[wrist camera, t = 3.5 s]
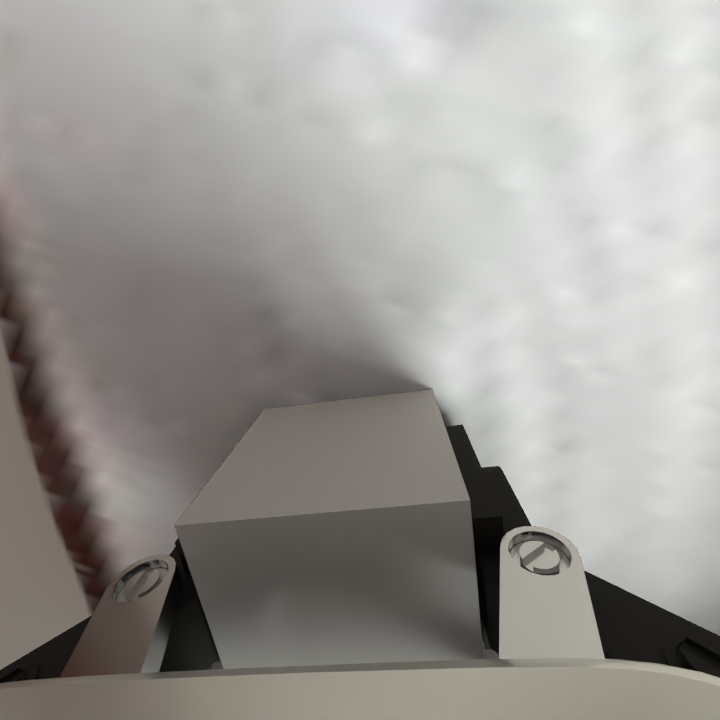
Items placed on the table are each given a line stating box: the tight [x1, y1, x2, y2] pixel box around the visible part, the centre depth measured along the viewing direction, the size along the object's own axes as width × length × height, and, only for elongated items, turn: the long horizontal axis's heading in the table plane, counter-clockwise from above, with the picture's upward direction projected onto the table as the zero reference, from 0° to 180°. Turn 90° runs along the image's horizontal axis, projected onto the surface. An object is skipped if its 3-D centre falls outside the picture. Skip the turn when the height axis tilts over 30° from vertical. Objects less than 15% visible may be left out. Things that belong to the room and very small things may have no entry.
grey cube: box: [175, 389, 484, 669], centre depth 9 cm, size 5×5×5 cm
